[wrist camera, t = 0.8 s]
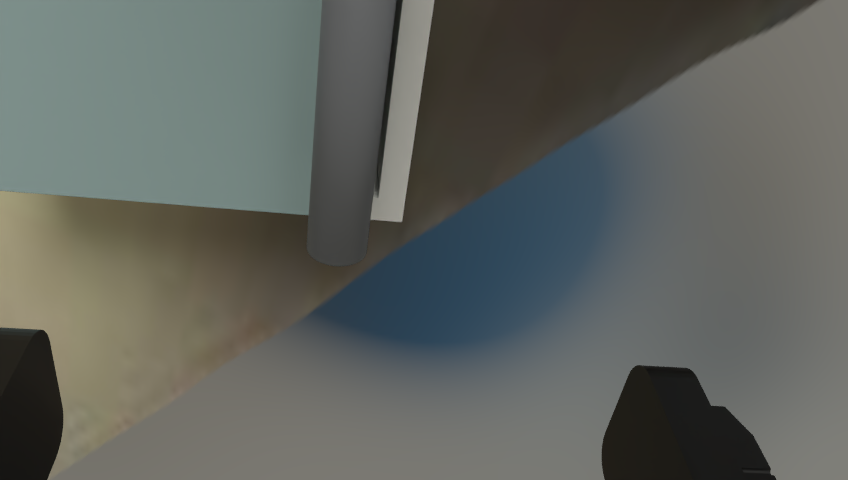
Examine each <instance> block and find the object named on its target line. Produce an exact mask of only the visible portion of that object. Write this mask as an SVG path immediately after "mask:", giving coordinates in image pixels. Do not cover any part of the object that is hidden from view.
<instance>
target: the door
mask: <svg viewBox="0 0 848 480" xmlns="http://www.w3.org/2000/svg"><path fill="white" fill-rule="evenodd" d="M395 8H396V0H0V191H12V192H24V193H37V194H49V195H62V196H74V197H87V198H99V199H112V200H124V201H137V202H149V203H162V204H174V205H187V206H199V207H212V208H224V209H237V210H249V211H262V212H274V213H286V214H299V215H309V217H308V233H307V251H308V253H309V255H310V256H311V257H312V258H314V259H315V260H316V261H318V262H320V263H323V264H326V265H331V266H348V265H353V264H355V263H358V262H359V261H361V260H362V259H363V258H364V257H365V255H366V253H367V244H368V236H369V227H370V219H371V211H372V202H373V194H374V185H375V177H376V168H377V160H378V151H379V143H380V134H381V126H382V118H383V109H384V101H385V92H386V84H387V75H388V67H389V58H390V50H391V42H392V33H393V25H394V16H395Z"/></svg>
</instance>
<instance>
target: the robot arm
mask: <svg viewBox="0 0 848 480" xmlns="http://www.w3.org/2000/svg"><path fill="white" fill-rule="evenodd" d="M62 430H63V408H62V402H61V397H60V392H59V387H58V382H57V376H56V371H55V366H54V361H53V356H52V351H51V345H50V341H49V337H48V335H47V333H46V332H45V331H44V330H34V329H16V328H0V480H47V479H48V476H49V474H50V471H51V469H52V466H53V464H54V461H55V459H56V456H57V453H58V450H59V446H60V442H61V437H62ZM602 468H603V474H604V478H605V480H776V478H775V476H773V475H771V474H770V470H771V469H770V466H769V465H768V463H767V461H766V459H765V457H764V455H763V453H762V451H761V449H760V448H759V446H758V444H757V442H756V440H755V439H754V436H753V435H752V434H751V433H750V432H749V431H748V430H747V429H746V428H745V427H744V426H743V425H742V424H741V423H740V422H739V421H738V420H737V419H736V418H735V417H734V416H733V415H732V414H731V413H730V412H729V411H728V410H727V409H726V408H725V407H721V406H720V407H719V406H711V405H710V403H709V401H708V399H707V397H706V395H705V393H704V391H703V389H702V387H701V385H700V383H699V381H698V379H697V377H696V375H695V374H694V373H693V371H691V370H690V369H688V368H677V367H676V368H675V367H659V366H641V365H638V366H635V367H634V368H633V369H632V370H631V372H630V374H629V376H628V378H627V380H626V383H625V386H624V388H623V391H622V393H621V395H620V398H619V400H618V403H617V405H616V408H615V410H614V413H613V415H612V418H611V420H610V422H609V425H608V428H607V430H606V432H605V435H604V439H603V445H602Z"/></svg>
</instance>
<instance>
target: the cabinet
mask: <svg viewBox="0 0 848 480" xmlns="http://www.w3.org/2000/svg"><path fill="white" fill-rule="evenodd" d="M433 7H434V0H396V8H395V16H394V25H393V33H392V42H391V50H390V58H389V67H388V75H387V84H386V92H385V101H384V109H383V118H382V126H381V134H380V143H379V151H378V160H377V168H376V177H375V185H374V194H373V202H372V211H371V219H370V220H382V221H394V222H402V218H403V211H404V204H405V197H406V191H407V184H408V177H409V170H410V163H411V156H412V150H413V143H414V136H415V129H416V122H417V116H418V109H419V102H420V95H421V88H422V81H423V75H424V68H425V61H426V54H427V47H428V41H429V34H430V27H431V20H432V13H433Z"/></svg>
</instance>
